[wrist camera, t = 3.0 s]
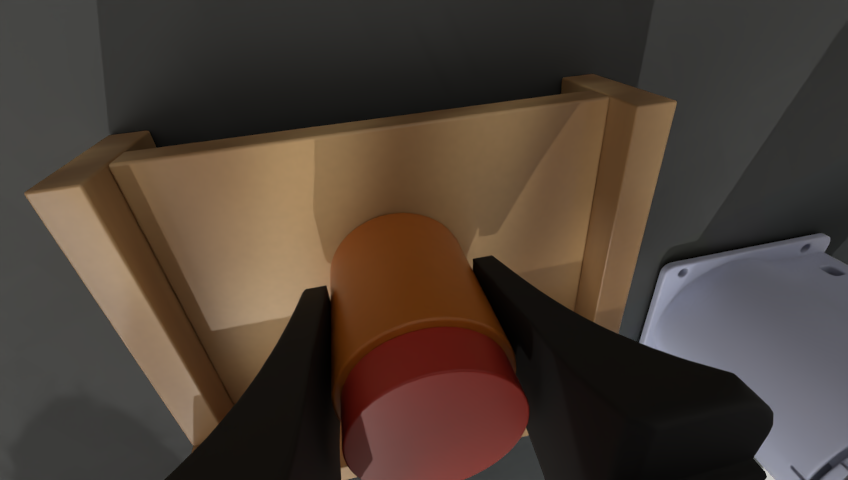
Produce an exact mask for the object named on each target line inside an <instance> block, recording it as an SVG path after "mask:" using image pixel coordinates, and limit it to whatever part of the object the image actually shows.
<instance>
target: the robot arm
mask: <svg viewBox="0 0 848 480" xmlns="http://www.w3.org/2000/svg"><path fill="white" fill-rule="evenodd" d="M829 243H830V237H829V236H827V235H825V234H823V233H818V234H813V235H808V236H803V237H798V238H793V239H788V240H782V241H777V242H772V243H767V244H762V245H757V246H752V247H747V248H742V249H737V250H732V251H726V252H721V253H716V254H711V255H706V256H701V257H696V258H691V259H686V260H681V261H675V262H671V263H668V264H666V265H665V266H664V267H663V268H662V269H661V271H660V274H659V277H658V280H657V284H656V287H655V291H654V294H653V297H652V301H651V304H650V307H649V311H648V314H647V318H646V321H645V324H644V328H643V331H642V334H641V338H640V341H639V343H638V342H636V341H634V340H631V339H629V338H627V337H624V336H622V335H620V334H617V333H615V332H613V331H611V330H608V329H606V328H604V327H602V326H600V325H598V324H596V323H594V322H592V321H590V320H588V319H586V318H585V317H583V316H581V315H579V314H577V313H575V312H573V311H572V310H570V309H568V308H567V307H565V306H563V305H562V304H560V303H558V302H557V301H555V300H554V299H552V298H550V297H549V296H547V295H546V294H544V293H543V292H541V291H540V290H538V289H537V288H536V287H534V286H533V285H531V284H530V283H528V282H527V281H526V280H524V279H523V278H522V277H520V276H519V275H518V274H516V273H515V272H513V271H512V270H511V269H510V268H508V267H507V266H506V265H504V264H503V263H502V262H500V261H499V260H498V259H496V258H495V257H494V256H492V255H491V256H485V257H480V258H474V259H473V272H474V274H475V276H476V278H477V280H478V282H479V284H480V286H481V287H482V289H483V291H484V293H485V295H486V297H487V299H488V301H489V303H490V305H491V307H492V309H493V311H494V313H495V315H496V317H497V319H498V321H499V322H500V324H501V326H502V328H503V330H504V332H505V334H506V336H507V338H508V340H509V342H510V344H511V346H512V348H513V350H514V353H515V358H516V373H515V374H516V376H517V378H518V380H519V382H520V384H521V386H522V388H523V390H524V392H525V395H526V397H527V399H528V403H529V420H528V424H527V426H526V429H527V431H528V434H529V437H530V439H531V442H532V445H533V447H534V450H535V453H536V455H537V458H538V461H539V464H540V466H541V469H542V472H543V475H544V477H545V480H765V479H766V477H767V476H766V473H765V471H764V470H763V469H762V468H761V467H760V466H759V465H758V464H757V463H756V461H755V460H754V459H753V458H754V457H755V458H756V459H757V460H758V461H759V463H760V464H761V465H762V466H763V467H764V468H765V469H766V470H767V471H768V472H769V473H770V475H771V476H772V477H773V478H774V479H775V480H848V265H847V264H845V263H843V262H841V261H839V260H837V259H835V258H834V257H832V256H830V255H828V254H826V253H824V252H825V250H826V249H827V247H828V245H829ZM165 480H341V465H340V420H339V419H338V418H337V416H336V414H335V411H334V409H333V405H332V400H331V301H330V297H329V293H328V290H327V286H320V287H315V288H309V289H305V290H304V291H303V293H302V295H301V297H300V299H299V301H298V304H297V306H296V308H295V310H294V312H293V314H292V316H291V318H290V320H289V322H288V324H287V326H286V328H285V329H284V331H283V333H282V335H281V337H280V338H279V340H278V342H277V344H276V346H275V347H274V349H273V350H272V352H271V354H270V355H269V357H268V358H267V360H266V362H265V363H264V365H263V366H262V368H261V369H260V371H259V372H258V374H257V375H256V377H255V378H254V380H253V381H252V383H251V384H250V385H249V387H248V388H247V389H246V391H245V392H244V393H243V395H242V396H241V397H240V399H239V400H238V401H237V403H236V404H235V405H234V406H233V407H232V409H231V410H230V411H229V412H228V413H227V415H226V416H225V417H224V418H223V419H222V421H221V422H220V423H219V424H218V425H217V427H216V428H215V429H214V430H213V431H212V432H211V433H210V434H209V436H208V437H207V438H206V439H205V440H204V441H203V442H202V443H201V444H200V445H199V446H198V447H197V448H196V449H195V450H194V451H193V452H192V453H191V454H190V455H189V456H188V457H187V458H186V459H185V460H184V461H183V462H182V463H181V464H180V465H179V466H178V467H177V468H176V469H175V470H174V471H173V472H172V473H171V474H170V475H169V476H168V477H167V478H166V479H165Z"/></svg>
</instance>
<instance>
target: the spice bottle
mask: <svg viewBox="0 0 848 480" xmlns="http://www.w3.org/2000/svg"><path fill="white" fill-rule="evenodd" d="M330 301H331V400H332V405H333V409H334V411H335V414H336V416H337V418H338V419H339V420H340V422H341V431H342V452H343V457H344V460H345V462H346V464H347V466H348V467H349V469H350V470H351V471H352V472H353V473H354V474H355V475H356V476H357V477H358V478H360V479H362V480H463V479H466V478H468V477H471V476H473V475H475V474H477V473H479V472H481V471H483V470H485V469H486V468H488V467H489V466H491V465H493V464H494V463H496V462H497V461H498V460H500V459H501V458H502V457H503V456H505V455H506V454H507V453H508V452H509V451H510V450H511V449H512V448H513V447H514V446H515V445H516V443H517V442H518V441H519V439H520V438H521V436H522V435H523V433H524V431H525V429H526V426H527V424H528V420H529V403H528V399H527V397H526V395H525V392H524V390H523V388H522V386H521V384H520V382H519V380H518V378H517V376H516V374H515V373H516V358H515V353H514V350H513V348H512V346H511V344H510V342H509V340H508V338H507V336H506V334H505V332H504V330H503V328H502V326H501V324H500V322H499V321H498V319H497V317H496V315H495V313H494V311H493V309H492V307H491V305H490V303H489V301H488V299H487V297H486V295H485V293H484V291H483V289H482V287H481V286H480V284H479V282H478V280H477V278H476V276H475V274H474V272H473V270H472V268H471V266H470V264H469V262H468V260H467V258H466V256H465V254H464V252H463V250H462V249H461V247H460V245H459V243H458V241H457V239H456V238H455V236H454V235H453V234H452V232H451V231H450V230H449V229H448V228H446V227H445V226H444V225H443V224H441V223H439V222H438V221H436V220H434V219H432V218H429V217H427V216H423V215H419V214H413V213H393V214H387V215H383V216H379V217H376V218H374V219H371V220H369V221H367V222H365V223H363V224H362V225H360V226H358V227H357V228H355V229H354V230H353V231H352V232H351V233H349V234H348V235H347V237H346V238H345V239H344V240H343V241H342V242H341V244H340V245H339V247H338V248H337V250H336V252H335V254H334V256H333V259H332V262H331V268H330Z"/></svg>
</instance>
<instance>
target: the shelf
mask: <svg viewBox="0 0 848 480" xmlns="http://www.w3.org/2000/svg"><path fill="white" fill-rule="evenodd" d="M676 104H677V101H675V100H672V99H669V98H666V97H663V96H660V95H657V94H654V93H651V92H647V91H644V90H641V89H638V88H635V87H632V86H629V85H626V84H623V83H620V82H616V81H613V80H610V79H607V78H604V77H601V76H598V75H595V74H587V75H579V76H571V77H564V78H563V79H562V87H561V94H559V95H551V96H544V97H536V98H528V99H521V100H513V101H506V102H498V103H491V104H483V105H476V106H468V107H460V108H453V109H445V110H438V111H430V112H423V113H415V114H408V115H400V116H392V117H385V118H377V119H370V120H362V121H355V122H347V123H340V124H332V125H324V126H317V127H309V128H302V129H294V130H287V131H279V132H272V133H264V134H256V135H249V136H241V137H234V138H226V139H219V140H211V141H204V142H196V143H188V144H181V145H173V146H166V147H158V148H156V145H155V143H154V141H153V139H152V136H151V134H150V132H149V131H139V132H131V133H123V134H115V135H109V136H107V137H106V138H104V139H103V140H101V141H100V142H98V143H97V144H95V145H94V146H92V147H91V148H89V149H88V150H86V151H85V152H83V153H82V154H81V155H79V156H78V157H76V158H75V159H73V160H72V161H70V162H69V163H67V164H66V165H64V166H63V167H61V168H60V169H58V170H57V171H55V172H54V173H52V174H51V175H49V176H48V177H46V178H45V179H44V180H42V181H41V182H39V183H38V184H36V185H35V186H33V187H32V188H30V189H29V190H27V191H26V192H25V196H26V197H27V199H28V200H29V202H30V203H31V205H32V206H33V208H34V209H35V211H36V212H37V214H38V215H39V217H40V218H41V220H42V221H43V223H44V224H45V226H46V227H47V229H48V230H49V232H50V233H51V235H52V236H53V238H54V239H55V241H56V242H57V244H58V245H59V247H60V248H61V250H62V251H63V253H64V254H65V256H66V257H67V258H68V260H69V261H70V263H71V264H72V266H73V267H74V269H75V270H76V272H77V273H78V275H79V276H80V278H81V279H82V281H83V282H84V284H85V285H86V287H87V288H88V290H89V291H90V293H91V294H92V296H93V297H94V299H95V300H96V302H97V303H98V305H99V306H100V308H101V309H102V311H103V312H104V314H105V315H106V317H107V318H108V320H109V321H110V323H111V324H112V326H113V327H114V329H115V330H116V332H117V333H118V335H119V336H120V338H121V339H122V341H123V342H124V343H125V345H126V346H127V348H128V349H129V351H130V352H131V354H132V355H133V357H134V358H135V360H136V361H137V363H138V364H139V366H140V367H141V369H142V370H143V372H144V373H145V375H146V376H147V378H148V379H149V381H150V382H151V384H152V385H153V387H154V388H155V390H156V391H157V393H158V394H159V396H160V397H161V399H162V400H163V402H164V403H165V405H166V406H167V408H168V409H169V411H170V412H171V414H172V415H173V417H174V418H175V420H176V421H177V423H178V424H179V426H180V427H181V428H182V430H183V431H184V433H185V434H186V436H187V437H188V439H189V440H190V442H191V443H192V445H193V449H192V452H193V451H194V450H195V449H196V448H197V447H198V446H199V445H200V444H201V443H202V442H203V441H204V440H205V439H206V438H207V437H208V436H209V434H210V433H211V432H212V431H213V430H214V429H215V428H216V427H217V425H218V424H219V423H220V422H221V421H222V419H223V418H224V417H225V416H226V415H227V413H228V412H229V411H230V410H231V409H232V407H233V406H234V405H235V404H236V403H237V401H238V400H239V399H240V397H241V396H242V395H243V393H244V392H245V391H246V389H247V388H248V387H249V385H250V384H251V383H252V381H253V380H254V378H255V377H256V375H257V374H258V372H259V371H260V369H261V368H262V366H263V365H264V363H265V362H266V360H267V358H268V357H269V355H270V354H271V352H272V350H273V349H274V347H275V346H276V344H277V342H278V340H279V338H280V337H281V335H282V333H283V331H284V329H285V328H286V326H287V324H288V322H289V320H290V318H291V316H292V314H293V312H294V310H295V308H296V306H297V304H298V301H299V299H300V297H301V295H302V293H303V291H304V290H305V289H309V288H315V287H320V286H327V290H328V293H329V297H330V268H331V262H332V259H333V256H334V254H335V252H336V250H337V248H338V247H339V245H340V244H341V242H342V241H343V240H344V239H345V238H346V237H347V235H348V234H349V233H351V232H352V231H353V230H354V229H355V228H357V227H358V226H360V225H362V224H363V223H365V222H367V221H369V220H371V219H374V218H376V217H379V216H383V215H387V214H393V213H413V214H419V215H423V216H427V217H429V218H432V219H434V220H436V221H438V222H439V223H441V224H443V225H444V226H445V227H446V228H448V229H449V230H450V231H451V232H452V234H453V235H454V236H455V238H456V239H457V241H458V243H459V245H460V247H461V249H462V250H463V252H464V254H465V256H466V258H467V260H468V262H469V264H470V266H471V268H472V270H473V259H474V258H480V257H485V256H491V255H492V256H494V257H495V258H496V259H498V260H499V261H500V262H502V263H503V264H504V265H506V266H507V267H508V268H510V269H511V270H512V271H513V272H515V273H516V274H518V275H519V276H520V277H522V278H523V279H524V280H526V281H527V282H528V283H530V284H531V285H533V286H534V287H536V288H537V289H538V290H540V291H541V292H543V293H544V294H546V295H547V296H549V297H550V298H552V299H554V300H555V301H557V302H558V303H560V304H562V305H563V306H565V307H567V308H568V309H570V310H572V311H573V312H575V313H577V314H579V315H581V316H583V317H585V318H586V319H588V320H590V321H592V322H594V323H596V324H598V325H600V326H602V327H604V328H606V329H608V330H611V331H613V332H615V333H617V334H618V333H619V329H620V325H621V321H622V317H623V313H624V309H625V305H626V301H627V297H628V293H629V289H630V285H631V282H632V278H633V274H634V270H635V266H636V262H637V258H638V254H639V250H640V246H641V242H642V238H643V234H644V230H645V226H646V222H647V219H648V215H649V211H650V207H651V203H652V199H653V195H654V191H655V187H656V183H657V179H658V175H659V171H660V167H661V163H662V159H663V156H664V152H665V148H666V144H667V140H668V136H669V132H670V128H671V124H672V120H673V116H674V112H675V108H676ZM527 435H529V434H528V431H527V429H525V431H524V433H523V435H522V436H521V437H523V436H527ZM340 465H341V480H347V479H351V478H356V477H357V476H356V475H355V474H354V473H353V472H352V471H351V470H350V469H349V467H348V466H347V464H346V462H345V460H344V457H343V452H342V431H341V422H340Z"/></svg>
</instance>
